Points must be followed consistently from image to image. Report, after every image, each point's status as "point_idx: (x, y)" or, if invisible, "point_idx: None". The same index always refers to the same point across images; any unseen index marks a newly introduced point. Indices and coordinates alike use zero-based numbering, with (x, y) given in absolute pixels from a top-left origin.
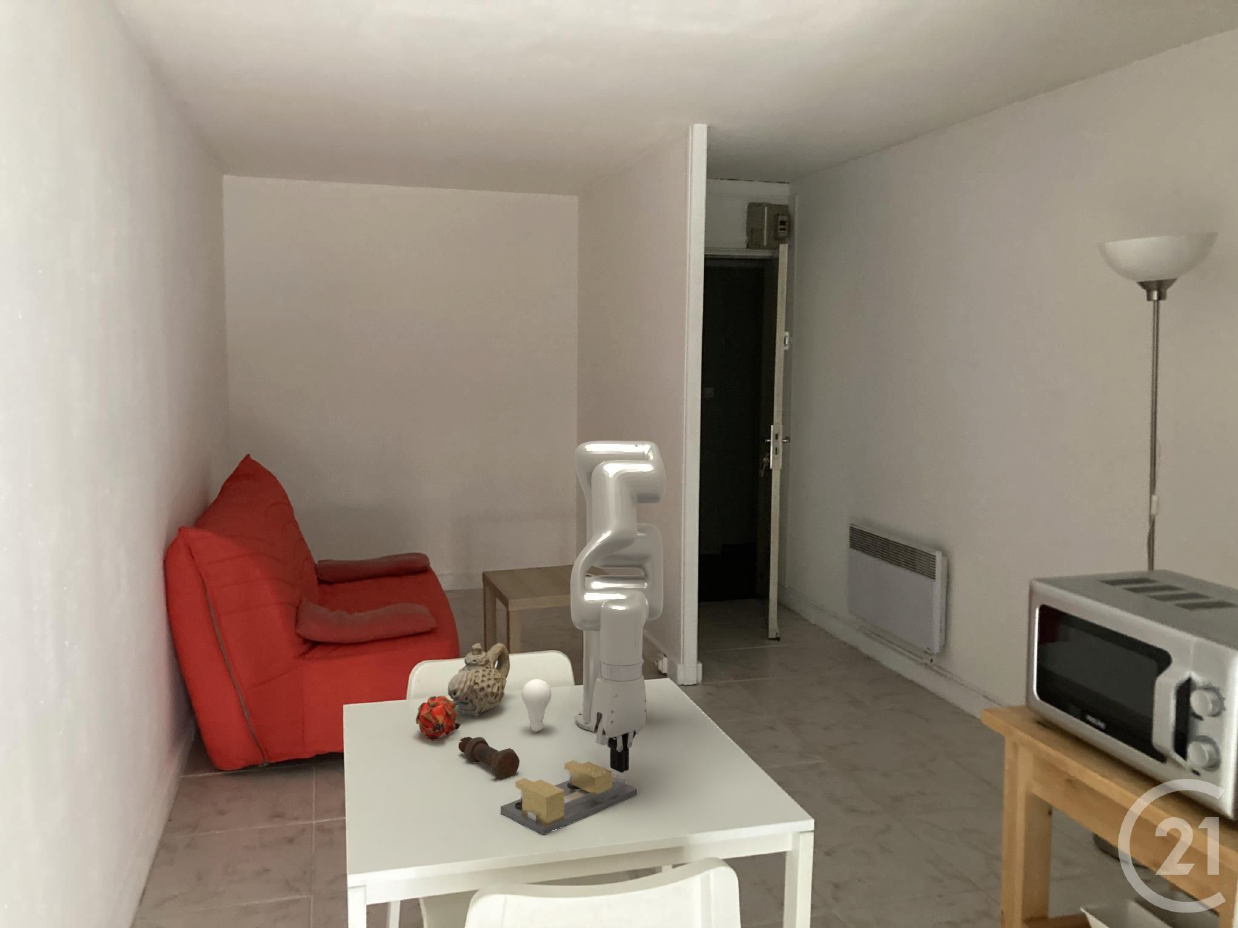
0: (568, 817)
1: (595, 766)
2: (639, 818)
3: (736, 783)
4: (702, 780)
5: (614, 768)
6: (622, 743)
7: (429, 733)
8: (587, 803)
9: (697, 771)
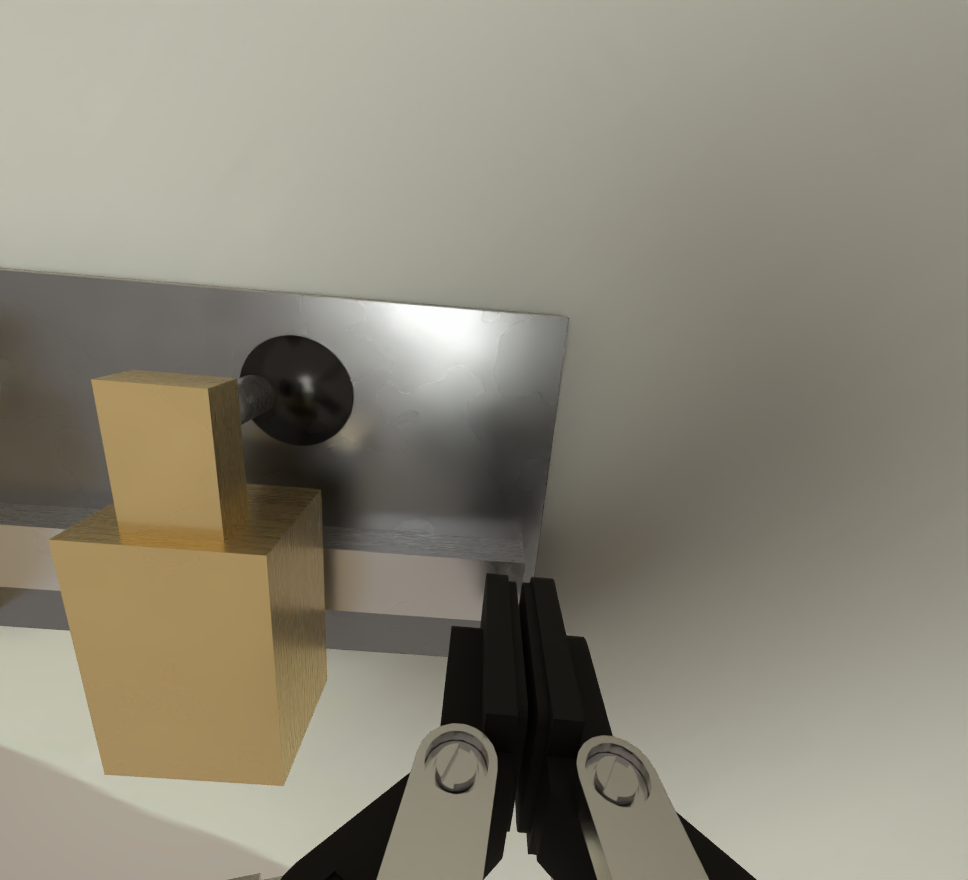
0: (13, 626)
1: (243, 658)
2: (342, 759)
3: (889, 838)
4: (848, 742)
5: (482, 612)
6: (555, 849)
7: None
8: None
9: (943, 680)
